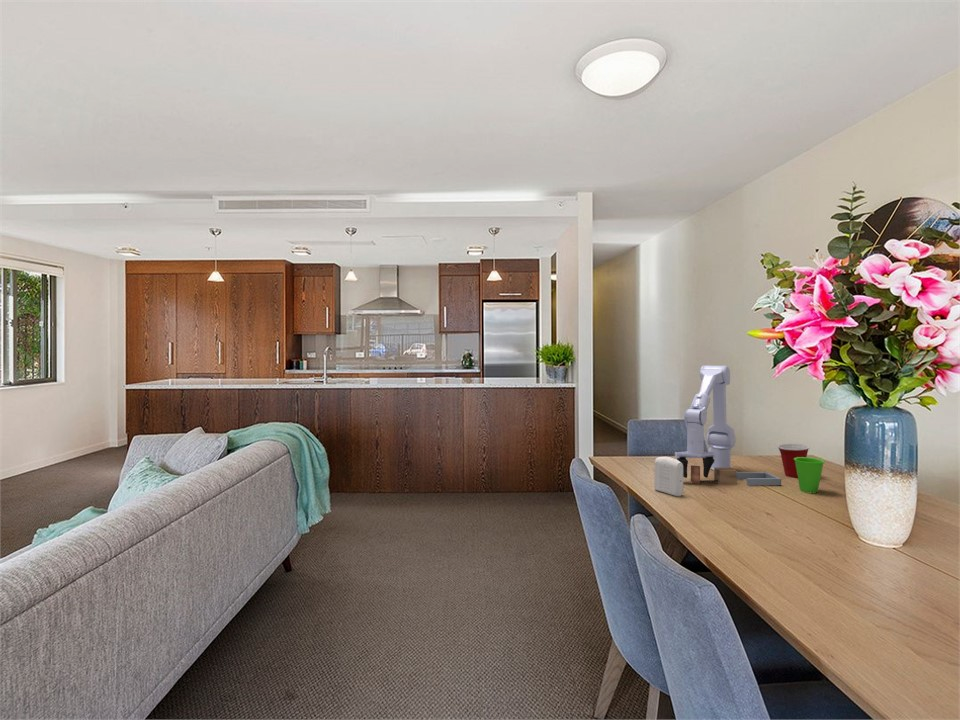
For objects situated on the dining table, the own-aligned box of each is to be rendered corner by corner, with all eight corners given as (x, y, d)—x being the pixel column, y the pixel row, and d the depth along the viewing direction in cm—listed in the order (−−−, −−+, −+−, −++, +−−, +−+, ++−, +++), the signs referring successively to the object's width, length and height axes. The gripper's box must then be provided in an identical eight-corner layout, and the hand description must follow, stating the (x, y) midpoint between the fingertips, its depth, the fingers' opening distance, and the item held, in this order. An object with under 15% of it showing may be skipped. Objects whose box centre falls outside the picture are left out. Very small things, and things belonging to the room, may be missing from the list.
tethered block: (688, 480, 192) (688, 464, 192) (730, 480, 192) (730, 464, 191) (693, 484, 187) (693, 468, 187) (736, 484, 187) (736, 468, 186)
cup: (830, 494, 172) (830, 462, 172) (803, 495, 172) (803, 462, 172) (813, 487, 181) (813, 457, 181) (788, 487, 181) (788, 457, 181)
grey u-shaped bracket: (734, 478, 194) (734, 472, 194) (766, 478, 194) (766, 472, 194) (748, 485, 184) (748, 479, 184) (781, 485, 184) (781, 478, 184)
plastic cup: (771, 472, 203) (771, 442, 203) (799, 472, 203) (799, 442, 203) (786, 479, 192) (786, 448, 192) (815, 479, 192) (816, 448, 192)
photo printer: (685, 495, 173) (685, 459, 173) (677, 497, 171) (677, 460, 171) (660, 488, 182) (660, 454, 182) (652, 490, 180) (652, 455, 180)
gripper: (679, 443, 185) (679, 479, 186) (719, 442, 185) (719, 479, 185) (672, 439, 192) (672, 475, 193) (711, 439, 192) (711, 474, 192)
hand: (695, 477), depth 189 cm, fingers open, 7 cm apart
